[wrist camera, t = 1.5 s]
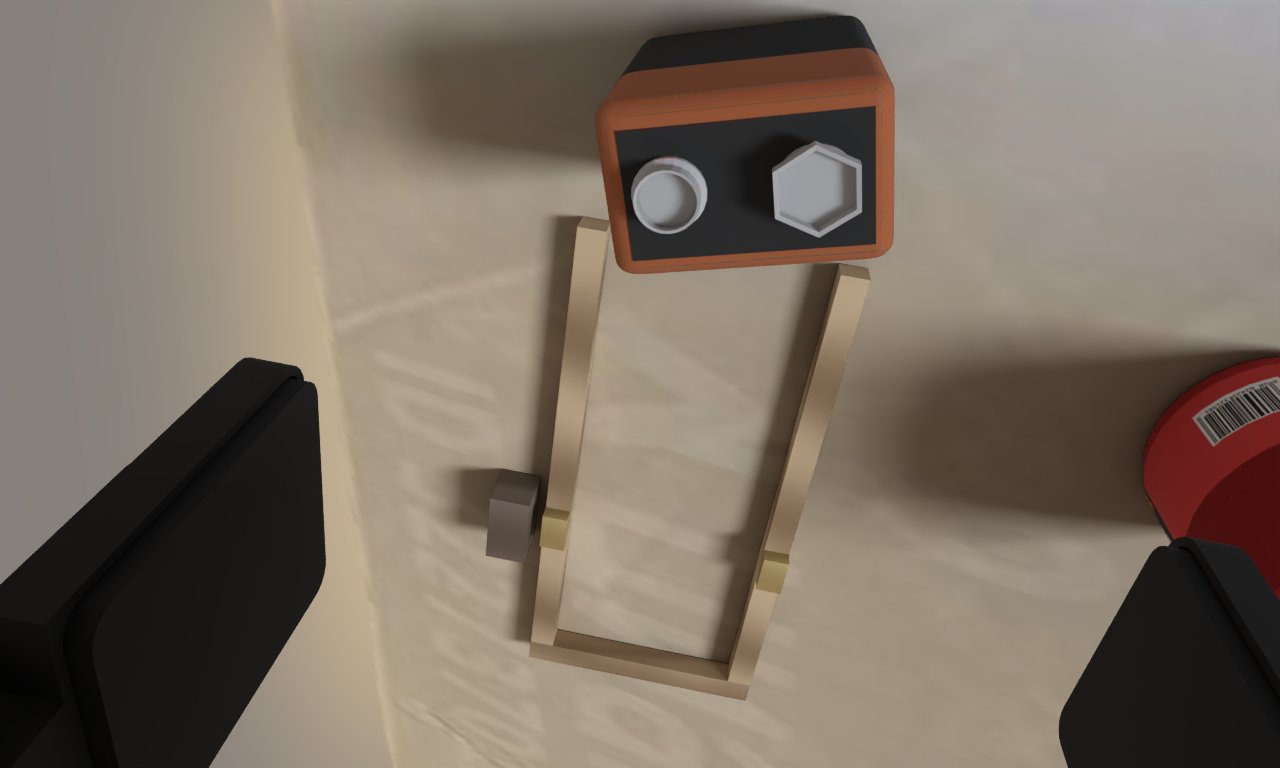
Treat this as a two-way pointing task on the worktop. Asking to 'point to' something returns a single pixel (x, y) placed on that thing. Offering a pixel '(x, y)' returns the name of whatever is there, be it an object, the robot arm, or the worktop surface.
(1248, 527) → the canned food
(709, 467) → the worktop surface
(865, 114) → the battery
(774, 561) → the track
